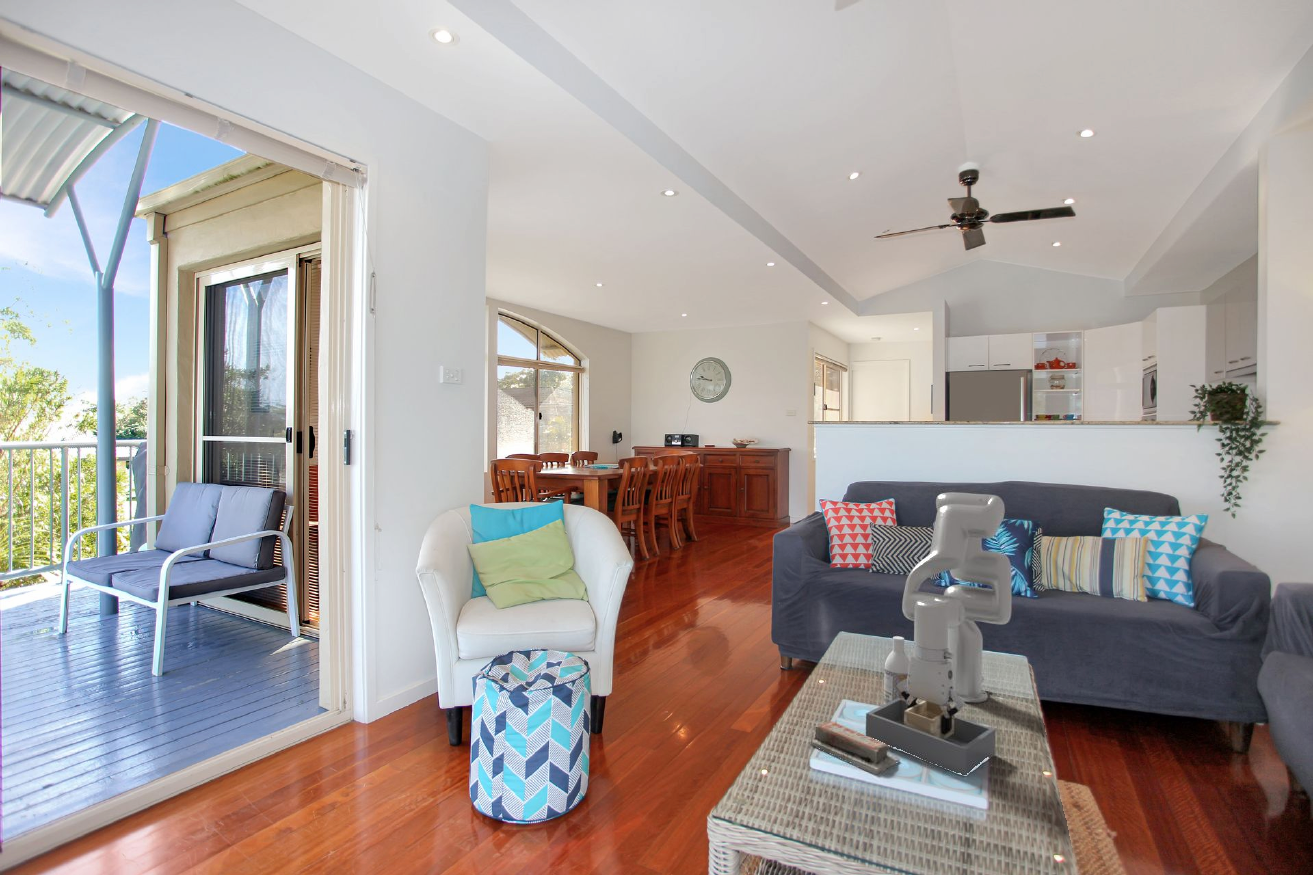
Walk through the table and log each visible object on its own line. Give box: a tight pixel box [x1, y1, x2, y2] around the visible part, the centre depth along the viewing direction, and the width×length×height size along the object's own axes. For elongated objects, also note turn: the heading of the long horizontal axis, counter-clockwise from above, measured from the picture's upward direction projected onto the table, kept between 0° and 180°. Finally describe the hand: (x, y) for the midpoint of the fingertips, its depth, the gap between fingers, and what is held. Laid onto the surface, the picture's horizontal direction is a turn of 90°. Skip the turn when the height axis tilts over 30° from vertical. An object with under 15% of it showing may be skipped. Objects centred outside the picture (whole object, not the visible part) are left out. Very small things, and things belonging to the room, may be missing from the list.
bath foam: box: [883, 635, 910, 705], centre depth 175 cm, size 7×7×20 cm
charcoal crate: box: [865, 698, 996, 775], centre depth 155 cm, size 16×24×6 cm, turn 41°
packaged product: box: [809, 720, 901, 775], centre depth 151 cm, size 18×5×10 cm
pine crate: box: [904, 700, 955, 740], centre depth 155 cm, size 11×7×6 cm, turn 131°
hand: (929, 726), depth 155 cm, fingers open, 7 cm apart
